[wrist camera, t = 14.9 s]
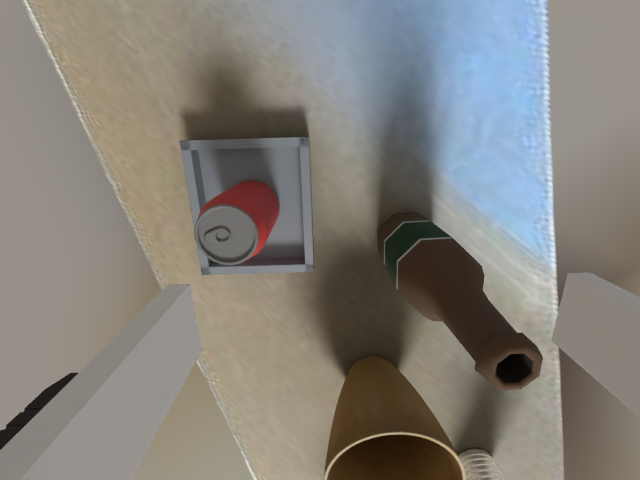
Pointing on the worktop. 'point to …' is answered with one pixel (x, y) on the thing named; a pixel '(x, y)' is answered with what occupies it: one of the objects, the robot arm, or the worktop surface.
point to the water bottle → (479, 465)
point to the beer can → (237, 222)
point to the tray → (266, 167)
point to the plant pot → (387, 430)
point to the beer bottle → (456, 298)
